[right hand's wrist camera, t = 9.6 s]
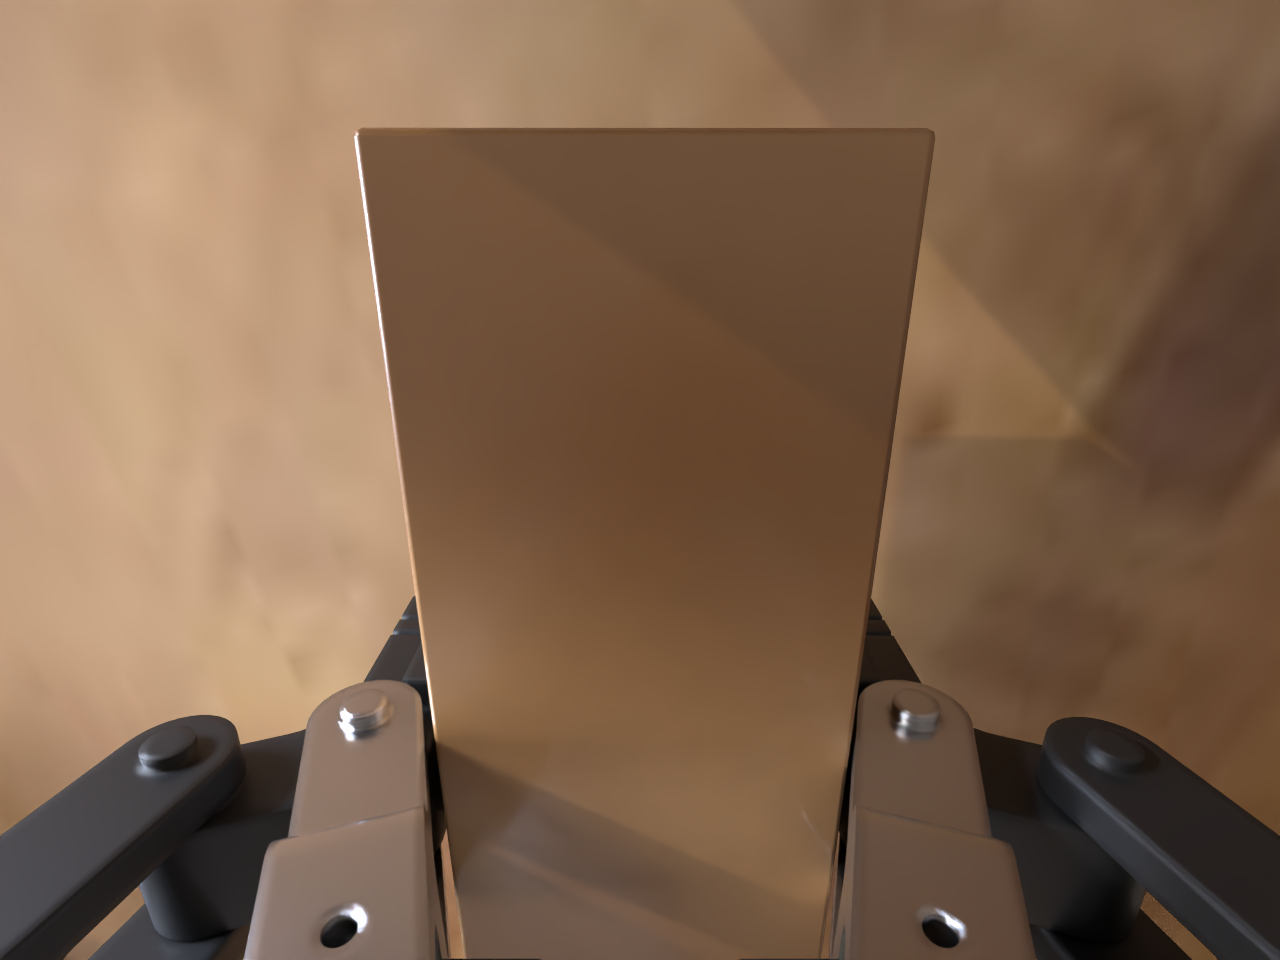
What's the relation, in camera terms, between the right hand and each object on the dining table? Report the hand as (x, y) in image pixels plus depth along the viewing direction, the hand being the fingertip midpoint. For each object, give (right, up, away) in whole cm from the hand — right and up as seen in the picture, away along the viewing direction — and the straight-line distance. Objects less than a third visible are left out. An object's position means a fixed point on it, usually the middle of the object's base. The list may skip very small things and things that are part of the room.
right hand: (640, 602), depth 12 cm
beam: (0, -27, +14) cm, 31 cm away
